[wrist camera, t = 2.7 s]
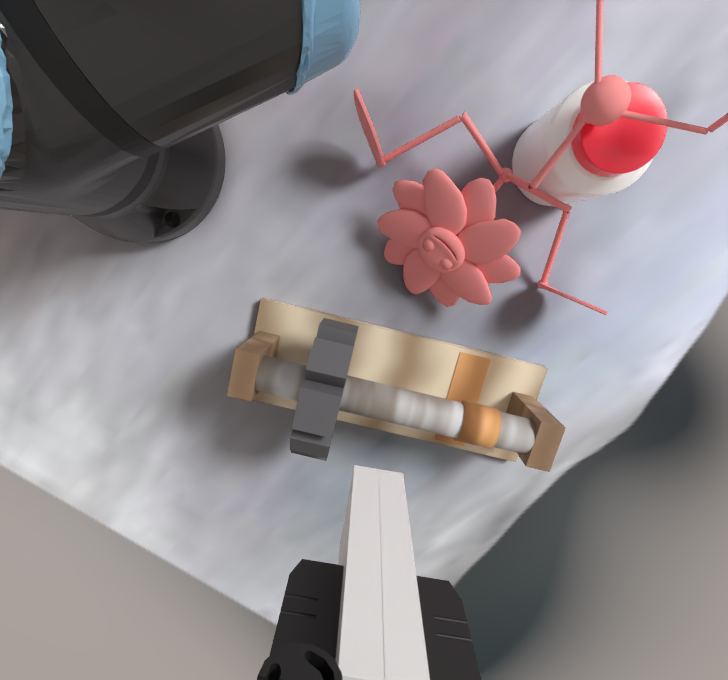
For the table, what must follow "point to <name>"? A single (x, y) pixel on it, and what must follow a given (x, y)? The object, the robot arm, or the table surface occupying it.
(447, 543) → the table surface
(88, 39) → the robot arm
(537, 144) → the pill bottle
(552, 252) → the figurine
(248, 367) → the pipe rig
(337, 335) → the square-toothed gear
